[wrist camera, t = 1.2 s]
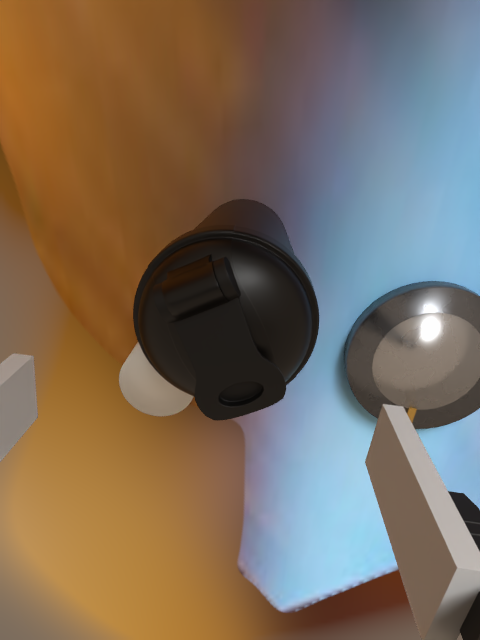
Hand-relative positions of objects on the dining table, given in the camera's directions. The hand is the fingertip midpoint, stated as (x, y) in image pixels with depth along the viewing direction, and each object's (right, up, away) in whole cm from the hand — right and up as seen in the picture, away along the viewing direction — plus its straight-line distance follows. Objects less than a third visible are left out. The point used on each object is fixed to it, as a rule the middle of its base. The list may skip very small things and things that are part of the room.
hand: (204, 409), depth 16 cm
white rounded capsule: (-6, +1, +30) cm, 31 cm away
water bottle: (+2, +11, +25) cm, 28 cm away
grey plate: (+20, 0, +29) cm, 35 cm away
